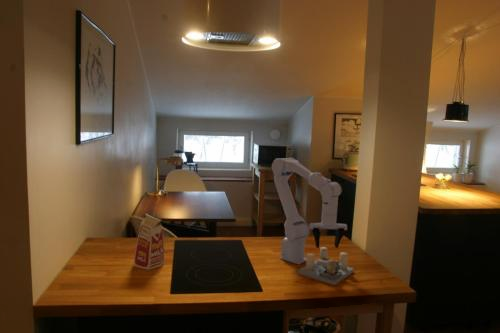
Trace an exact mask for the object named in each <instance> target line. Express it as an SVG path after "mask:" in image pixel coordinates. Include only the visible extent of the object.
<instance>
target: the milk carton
mask: <svg viewBox="0 0 500 333" xmlns="http://www.w3.org/2000/svg"><path fill="white" fill-rule="evenodd" d="M161 221H162V219H159V218H156V217H153V216H152V215H149V213H145V217H144V219H143V220H142V221H141V222H140V225H139V230H138V235H137V239H136V240H137V241H136V246H135V252H134V257H133V263H132V264H133V265H132V266H133V267H136V268H140V269H143V270H147V271H150V270H152V269H155V268H159V267H161V266H163V264H165V263H166V262H165V243H164V242H165V241H164V231H163V224H162V223H161Z"/></svg>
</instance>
